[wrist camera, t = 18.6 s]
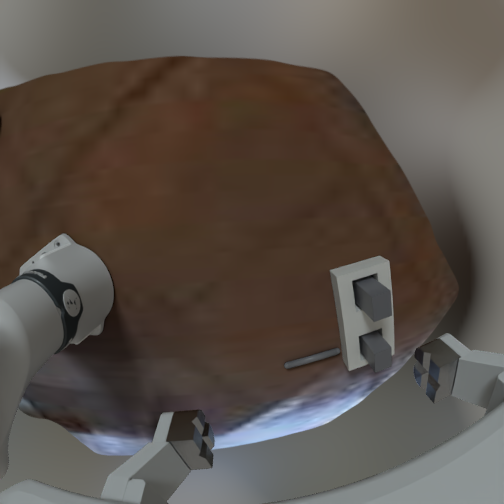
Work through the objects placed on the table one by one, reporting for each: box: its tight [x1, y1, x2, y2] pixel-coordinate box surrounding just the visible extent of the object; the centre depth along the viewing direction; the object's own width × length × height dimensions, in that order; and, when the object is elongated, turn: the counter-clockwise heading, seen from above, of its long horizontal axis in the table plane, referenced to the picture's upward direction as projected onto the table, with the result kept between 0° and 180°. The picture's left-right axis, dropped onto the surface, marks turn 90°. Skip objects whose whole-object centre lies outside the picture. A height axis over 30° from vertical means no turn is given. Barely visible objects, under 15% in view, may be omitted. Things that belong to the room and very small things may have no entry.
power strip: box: [284, 256, 394, 373], centre depth 42 cm, size 20×18×8 cm
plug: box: [352, 275, 392, 322], centre depth 40 cm, size 3×4×9 cm
